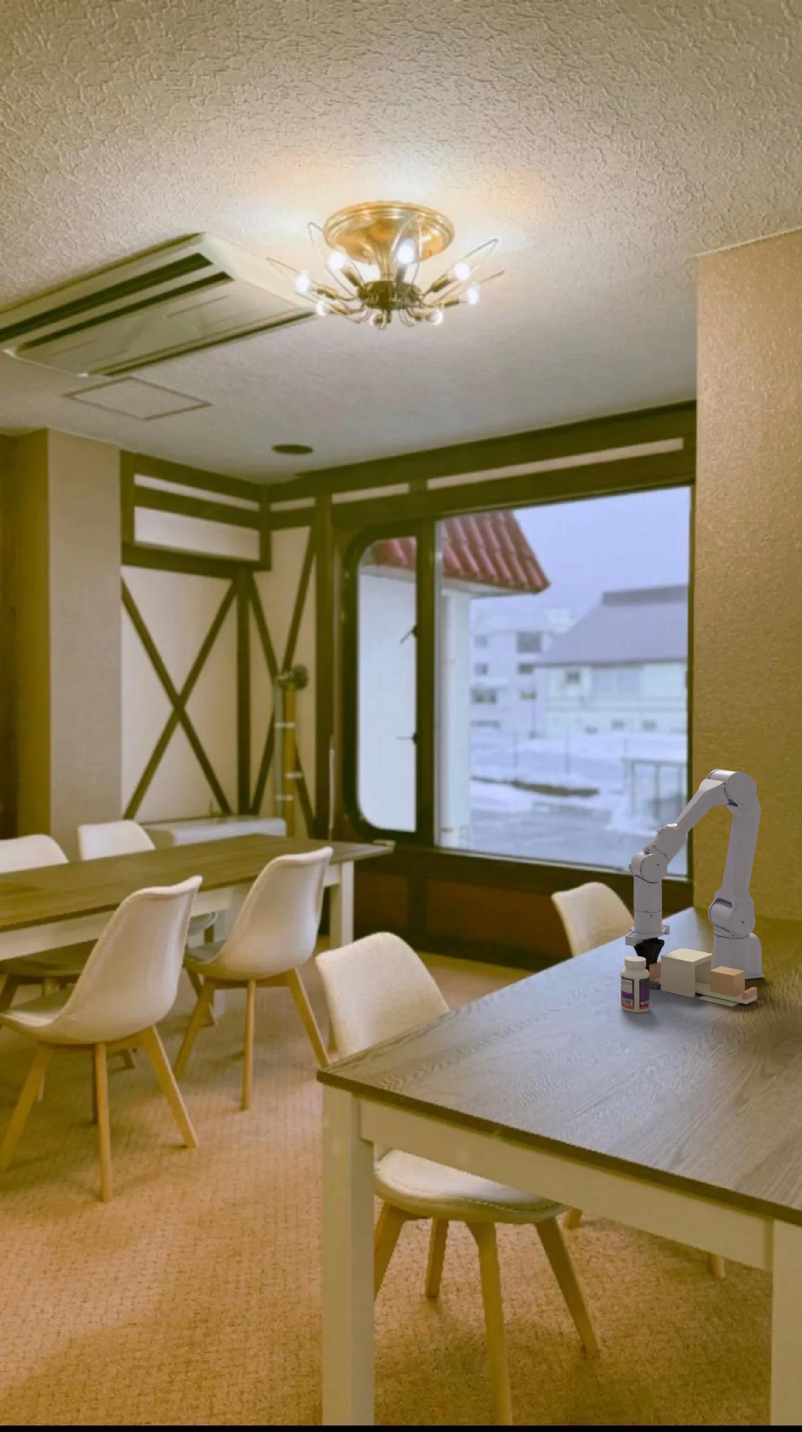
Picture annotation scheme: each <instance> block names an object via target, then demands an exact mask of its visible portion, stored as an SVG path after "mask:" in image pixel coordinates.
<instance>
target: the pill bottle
mask: <svg viewBox="0 0 802 1432" xmlns="http://www.w3.org/2000/svg"><path fill="white" fill-rule="evenodd" d="M645 967H646V959H645V958H643V957H639V956H637V955H631V956H630V955H628V956H625V957H624V967H623V969H621V971H620V1007H621V1009H622V1010H624V1011H625V1012H628V1013H632V1014H634V1013H635V1014H642V1013H643V1014H644V1013H647V1012H649V1011H650V1009H651V996H650V995H651V992H650V991H651V988H650V974H649V972H648V970H646V969H645Z"/></svg>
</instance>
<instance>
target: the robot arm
mask: <svg viewBox="0 0 802 1432" xmlns="http://www.w3.org/2000/svg"><path fill="white" fill-rule="evenodd" d="M757 788H758V784H757V783H756V781H755V780H754V779H753V778H752V777H751V776H750V775H749V774H748V773H747V772H744V771H735V770H734V771H733V770H726V769H724V768H723V769H722V768H716V769H714V770H712V771H710V772H709V774H708V775H707V777H706V778H704V779H703V780H702V781H701V782H700V784H699V788H698V789H697V791H696V792H695V794H694V795H693V797H692V798H690V800H689V802H688V803H687V805H686V806H685V807H684V808H683V810H682V811H681V812H680V814H679V815H678V816H677V818H676V819H675V820H674V822H673V823H670V824H669V823H668V824H664V825H663V826H662V827H661V826H658V828H657V829H656V830H655V831H656V834H655V836H654V837H653V838H652V839H651V841H650V842H649V843H648V844H646V845H644V846H643V847H642V851H640V852H637V853H636V854H634V856H633V857H632V858H631V861H630V862H631V863H629V864H628V868H629V869H628V870H629V872H630V873H631V875H632V877H633V926H632V927H629V933H628V934H626V935H625V936H624V940H625V941H624V942H625V943H624V945H625V946H629V947H632V948H633V949H634V951H635V953H636V956H639V957H643V958H645V959H646V967H645V969H646V970H648V972H649V965H650V964H653V963H656V962H658V959H659V956H660V953H661V951H662V949H663V948H664V946H665V944H666V943H665V940H664V939H660V938H659V937H663V936H665V935H666V936H668V935H670V933H671V931H670V927H671V926H670V925H669V924H663V916H662V915H663V907H662V906H663V903H662V902H663V901H662V900H663V897H662V895H663V889H662V887H663V886H662V885H663V881H662V880H663V879H664V878H665V877H666V876H667V874H668V866H669V864H670V863H671V862H672V861H673V859H674V858H675V857H676V856H677V854H678V853H679V852H680V851H681V850H682V848H683V847H684V846H685V845H686V844H687V842H688V840H687V839H688V838H687V834H688V833H689V832H690V830H691V829H692V828H694V827H695V825H696V824H697V823H698V822H699V821H700V820H701V819H702V818H703V817H704V815H705V814H706V813H707V812H708V811H710V809H711V808H713V807H718V806H724V805H725V807H726V808H727V809H728V811H729V812H730V813H731V814H732V816H733V817H732V822H731V828H730V834H729V835H730V836H729V841H728V846H727V852H726V860H725V864H724V871H723V879H722V885H721V887H720V888H719V889H718V890H717V891H715V892H714V897H713V901H712V902H711V904H710V905H709V907H708V910H707V917H708V920H709V922H710V923H711V924H712V926H713V969H715V968H718V967H720V966H723V967H728V968H733V969H737V970H742V971H745V980H751V979H759V978H764V977H765V974H763V973H762V962H763V961H762V956H763V955H762V944H761V941H760V939H759V937H758V936H757V935H756V934H755V933H753V931H754V929H755V927H756V916H755V912H754V908H755V902H754V900H753V898H752V896H751V895H750V891H749V890H750V884H751V878H752V872H753V866H754V860H755V853H756V847H757V846H756V845H757V840H758V834H759V827H760V823H761V822H760V821H761V815H762V808H761V803H760V801H759V797H758V795H757Z"/></svg>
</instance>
